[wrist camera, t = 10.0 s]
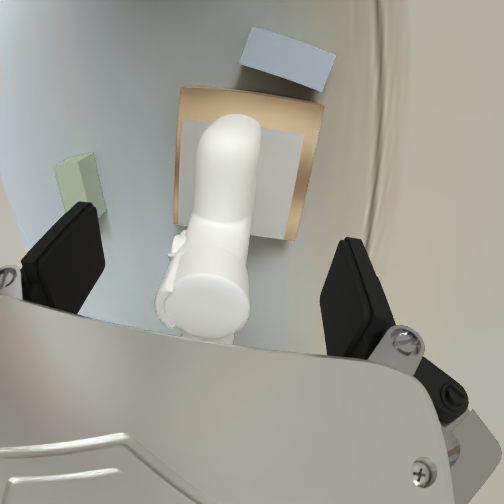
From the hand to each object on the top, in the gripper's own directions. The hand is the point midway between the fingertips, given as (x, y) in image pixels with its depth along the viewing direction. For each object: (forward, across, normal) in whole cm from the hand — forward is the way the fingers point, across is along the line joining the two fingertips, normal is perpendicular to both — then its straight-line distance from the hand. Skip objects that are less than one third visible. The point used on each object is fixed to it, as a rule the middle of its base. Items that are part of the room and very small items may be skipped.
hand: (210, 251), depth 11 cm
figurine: (+12, 0, +1) cm, 12 cm away
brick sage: (+15, +15, +5) cm, 22 cm away
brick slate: (+16, -2, -7) cm, 17 cm away
